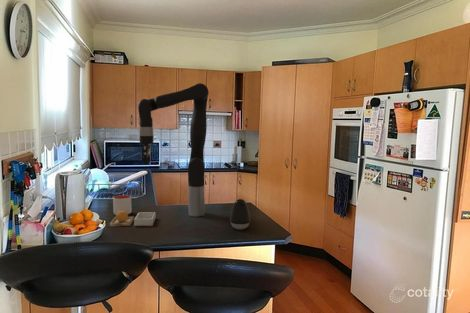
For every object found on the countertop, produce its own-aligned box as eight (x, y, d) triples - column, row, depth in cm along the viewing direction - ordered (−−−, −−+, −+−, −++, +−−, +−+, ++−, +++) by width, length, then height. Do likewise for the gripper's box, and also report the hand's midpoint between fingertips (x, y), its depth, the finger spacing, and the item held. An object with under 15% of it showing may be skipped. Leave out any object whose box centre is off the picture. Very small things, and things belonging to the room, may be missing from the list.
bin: (155, 218, 185) (155, 212, 185) (152, 225, 172) (152, 219, 171) (138, 218, 184) (138, 212, 184) (134, 226, 171) (134, 219, 170)
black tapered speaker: (233, 232, 163) (233, 201, 161) (227, 225, 173) (228, 197, 171) (252, 230, 166) (253, 200, 164) (246, 224, 176) (246, 196, 174)
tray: (133, 219, 183) (133, 216, 183) (129, 225, 171) (129, 223, 171) (115, 219, 182) (115, 217, 182) (109, 226, 170) (109, 223, 170)
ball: (129, 219, 180) (128, 209, 179) (126, 223, 174) (126, 212, 173) (117, 220, 179) (117, 209, 178) (115, 223, 173) (114, 212, 172)
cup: (126, 216, 188) (125, 199, 187) (110, 215, 190) (109, 198, 189) (134, 212, 198) (134, 195, 197) (119, 211, 200) (119, 194, 199)
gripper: (151, 135, 180) (152, 165, 182) (154, 134, 194) (155, 161, 196) (137, 135, 179) (138, 165, 181) (141, 134, 193) (142, 162, 195)
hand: (146, 163), depth 189 cm, fingers open, 8 cm apart
